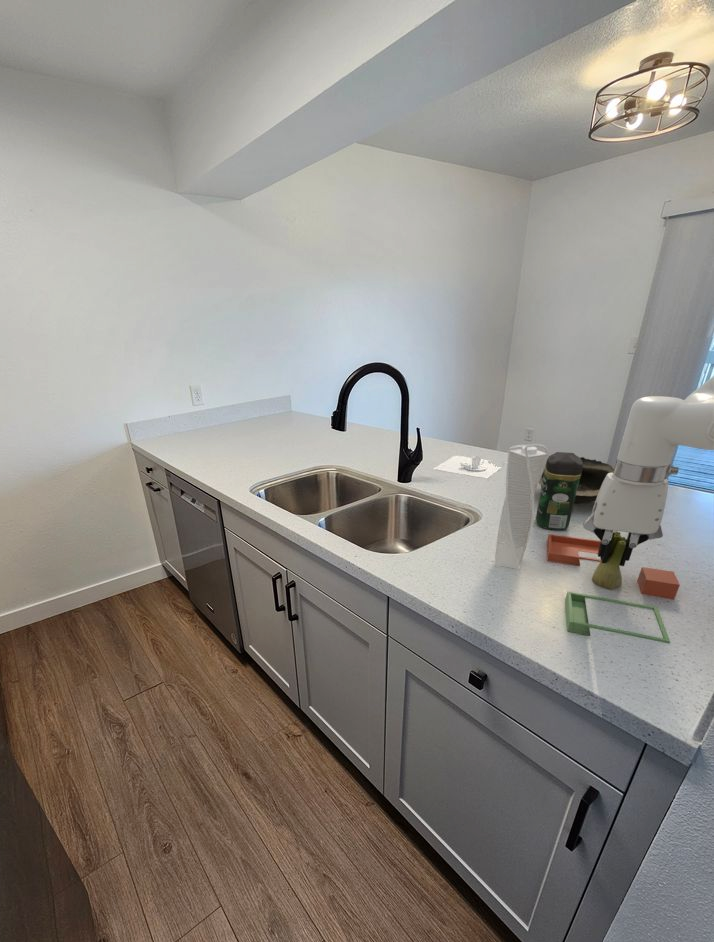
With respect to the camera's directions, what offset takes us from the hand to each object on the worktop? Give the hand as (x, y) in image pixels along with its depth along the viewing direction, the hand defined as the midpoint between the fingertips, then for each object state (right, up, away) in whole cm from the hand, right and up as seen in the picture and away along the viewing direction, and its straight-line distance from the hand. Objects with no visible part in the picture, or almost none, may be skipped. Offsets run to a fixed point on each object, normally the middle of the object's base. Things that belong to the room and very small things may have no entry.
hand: (611, 560), depth 84 cm
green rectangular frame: (-5, -11, -6) cm, 14 cm away
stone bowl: (+20, +16, +45) cm, 52 cm away
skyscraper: (-14, -1, +14) cm, 20 cm away
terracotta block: (+8, -7, 0) cm, 10 cm away
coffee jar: (+5, +8, +30) cm, 32 cm away
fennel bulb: (0, -6, +3) cm, 7 cm away
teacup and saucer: (+1, +31, +76) cm, 82 cm away
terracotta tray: (+4, 0, +15) cm, 15 cm away
